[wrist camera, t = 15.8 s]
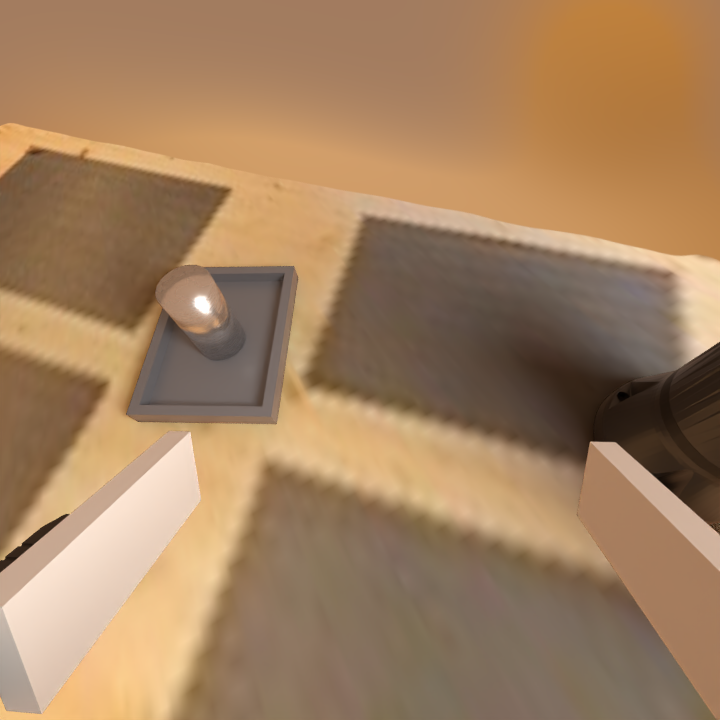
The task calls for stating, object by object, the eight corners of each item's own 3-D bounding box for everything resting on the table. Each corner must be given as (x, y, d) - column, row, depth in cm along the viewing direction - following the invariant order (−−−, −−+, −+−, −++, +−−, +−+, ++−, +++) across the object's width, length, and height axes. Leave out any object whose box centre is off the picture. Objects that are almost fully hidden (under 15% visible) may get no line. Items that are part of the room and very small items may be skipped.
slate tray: (298, 278, 55) (294, 266, 53) (276, 424, 45) (271, 416, 43) (184, 279, 57) (176, 267, 54) (138, 421, 46) (126, 414, 44)
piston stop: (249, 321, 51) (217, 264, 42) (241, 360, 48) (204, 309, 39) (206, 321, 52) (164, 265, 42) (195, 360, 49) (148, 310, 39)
